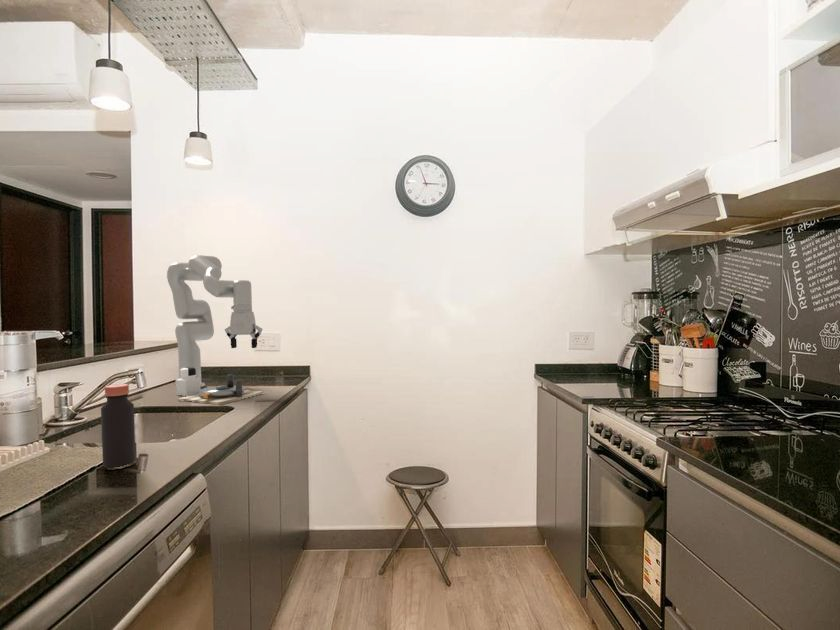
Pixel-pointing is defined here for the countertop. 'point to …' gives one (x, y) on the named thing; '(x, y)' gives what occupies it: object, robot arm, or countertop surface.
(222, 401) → the base board
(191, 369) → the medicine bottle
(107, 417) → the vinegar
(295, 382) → the countertop surface
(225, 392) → the flange plate
